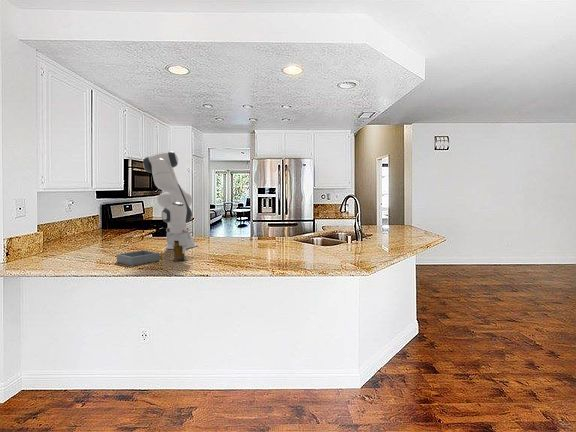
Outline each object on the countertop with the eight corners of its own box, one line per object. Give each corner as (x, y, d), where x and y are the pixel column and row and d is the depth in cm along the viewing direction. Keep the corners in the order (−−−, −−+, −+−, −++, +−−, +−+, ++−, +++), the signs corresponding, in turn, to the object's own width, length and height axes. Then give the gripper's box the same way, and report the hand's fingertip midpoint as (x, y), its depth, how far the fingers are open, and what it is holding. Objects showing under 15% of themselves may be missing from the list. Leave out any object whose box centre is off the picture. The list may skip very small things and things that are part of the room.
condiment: (175, 259, 261) (174, 239, 260) (189, 259, 261) (188, 239, 260) (172, 261, 253) (171, 241, 252) (186, 261, 253) (185, 241, 252)
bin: (143, 257, 266) (143, 250, 265) (159, 261, 255) (159, 253, 255) (116, 262, 253) (116, 254, 252) (132, 265, 242) (131, 257, 241)
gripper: (194, 230, 251) (194, 253, 253) (173, 227, 265) (174, 250, 266) (185, 231, 247) (185, 255, 248) (164, 228, 260) (165, 251, 261)
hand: (179, 252), depth 257 cm, fingers closed on condiment, 6 cm apart
